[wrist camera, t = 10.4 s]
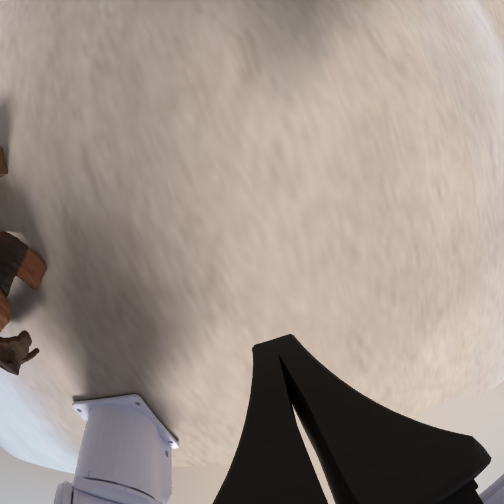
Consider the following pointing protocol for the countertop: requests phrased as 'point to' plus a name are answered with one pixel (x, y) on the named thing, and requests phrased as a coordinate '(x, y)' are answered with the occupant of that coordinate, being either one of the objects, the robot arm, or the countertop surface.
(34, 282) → the brown piece
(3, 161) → the wooden corner bracket
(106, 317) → the countertop surface
